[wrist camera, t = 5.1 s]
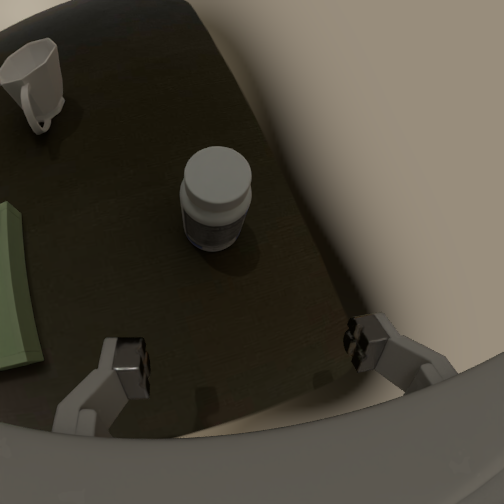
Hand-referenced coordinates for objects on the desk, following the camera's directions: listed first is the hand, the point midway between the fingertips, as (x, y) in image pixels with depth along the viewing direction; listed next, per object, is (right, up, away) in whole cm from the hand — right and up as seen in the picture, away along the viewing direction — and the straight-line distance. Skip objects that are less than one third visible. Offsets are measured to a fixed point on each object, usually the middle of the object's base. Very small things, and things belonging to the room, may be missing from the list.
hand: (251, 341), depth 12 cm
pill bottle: (-3, +6, +14) cm, 16 cm away
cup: (-22, +18, +15) cm, 32 cm away
